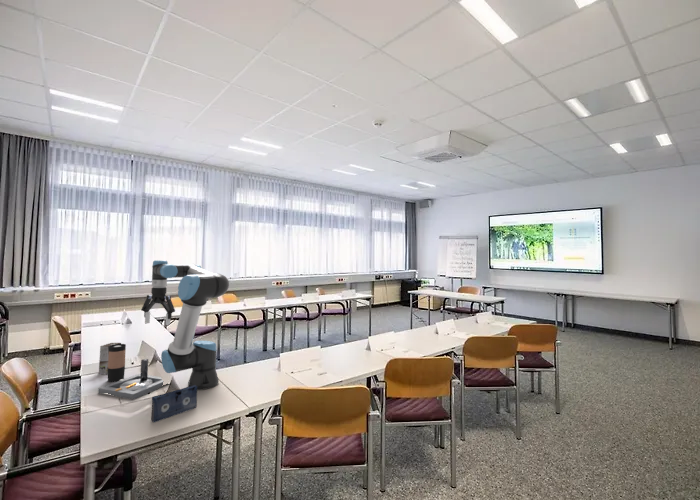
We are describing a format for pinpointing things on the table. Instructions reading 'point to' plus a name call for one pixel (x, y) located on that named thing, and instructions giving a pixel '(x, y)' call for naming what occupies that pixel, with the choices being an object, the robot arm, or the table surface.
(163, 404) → the vhs cassette tape
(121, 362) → the travel mug
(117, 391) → the gray square tray
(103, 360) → the coffee box
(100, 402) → the table surface
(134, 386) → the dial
